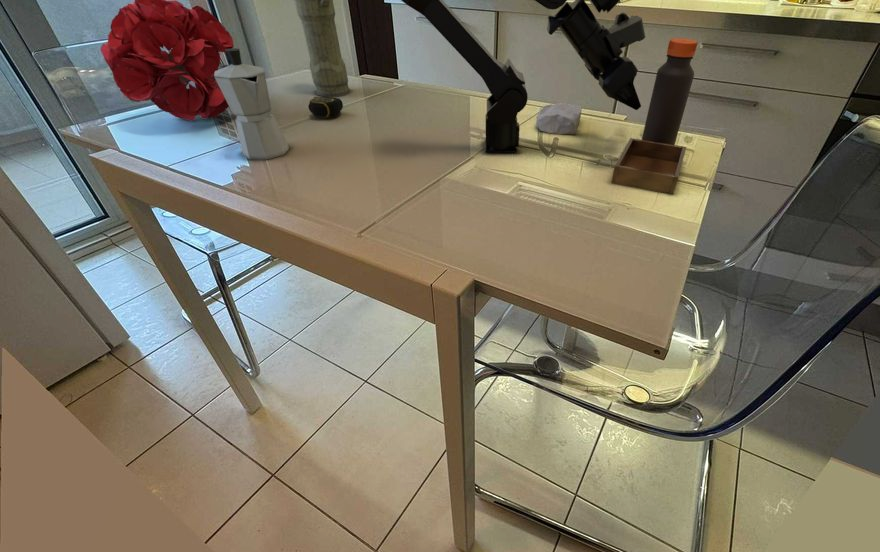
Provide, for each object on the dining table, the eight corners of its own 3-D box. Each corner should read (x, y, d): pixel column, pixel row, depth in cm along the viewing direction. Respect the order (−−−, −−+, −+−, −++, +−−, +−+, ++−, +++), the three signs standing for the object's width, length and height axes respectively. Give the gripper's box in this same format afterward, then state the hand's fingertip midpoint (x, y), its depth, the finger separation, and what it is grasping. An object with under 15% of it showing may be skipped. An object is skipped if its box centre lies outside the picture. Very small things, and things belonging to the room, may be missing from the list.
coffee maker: (302, 154, 88) (273, 51, 76) (259, 167, 83) (220, 58, 71) (267, 134, 95) (236, 38, 84) (225, 145, 91) (186, 44, 79)
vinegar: (643, 142, 97) (668, 35, 84) (675, 147, 95) (705, 39, 81) (636, 152, 92) (661, 41, 79) (669, 158, 90) (700, 46, 77)
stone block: (535, 139, 101) (579, 134, 98) (533, 117, 98) (578, 112, 96) (542, 124, 110) (583, 119, 107) (540, 104, 107) (582, 98, 105)
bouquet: (200, 126, 117) (76, 92, 88) (205, 29, 112) (75, -41, 83) (273, 141, 114) (169, 111, 85) (282, 42, 109) (174, -26, 80)
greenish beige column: (334, 99, 115) (296, -81, 92) (305, 91, 120) (262, -82, 97) (360, 92, 120) (331, -80, 97) (332, 84, 125) (297, -81, 102)
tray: (611, 182, 81) (614, 165, 79) (627, 153, 92) (630, 137, 90) (673, 194, 78) (678, 177, 76) (681, 162, 89) (686, 146, 87)
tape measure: (345, 111, 108) (342, 95, 106) (336, 121, 103) (332, 104, 100) (318, 110, 108) (314, 94, 106) (307, 120, 103) (303, 102, 101)
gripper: (638, 4, 69) (686, 82, 77) (611, -10, 83) (654, 58, 91) (580, 59, 74) (631, 128, 82) (564, 38, 88) (609, 98, 96)
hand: (632, 101), depth 87 cm, fingers open, 9 cm apart
